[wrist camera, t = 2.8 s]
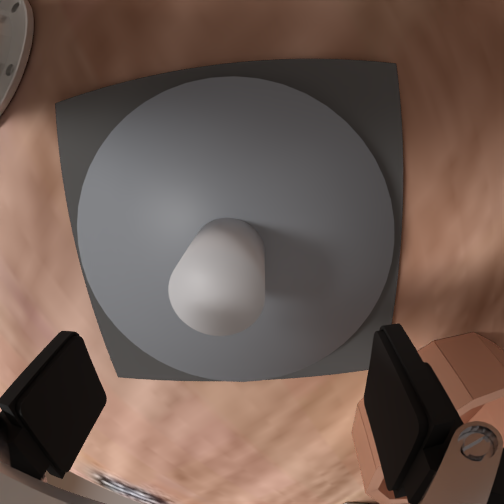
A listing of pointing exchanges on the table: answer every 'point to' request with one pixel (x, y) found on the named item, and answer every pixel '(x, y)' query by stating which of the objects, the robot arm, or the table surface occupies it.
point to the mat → (280, 71)
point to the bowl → (459, 391)
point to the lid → (235, 229)
